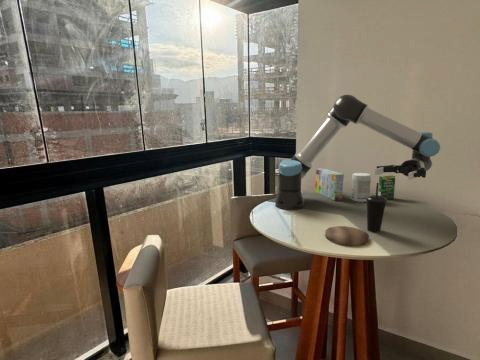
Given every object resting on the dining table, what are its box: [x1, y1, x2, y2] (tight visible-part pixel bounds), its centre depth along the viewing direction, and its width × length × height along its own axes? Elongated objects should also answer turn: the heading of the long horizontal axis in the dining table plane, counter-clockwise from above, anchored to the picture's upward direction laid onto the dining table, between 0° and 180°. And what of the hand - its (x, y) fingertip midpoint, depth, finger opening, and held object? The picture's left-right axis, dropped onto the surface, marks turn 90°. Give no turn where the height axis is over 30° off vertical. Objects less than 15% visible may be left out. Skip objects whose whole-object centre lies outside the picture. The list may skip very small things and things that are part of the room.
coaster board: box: [324, 225, 370, 247], centre depth 114 cm, size 16×16×2 cm
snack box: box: [314, 167, 345, 202], centre depth 172 cm, size 21×6×15 cm, turn 17°
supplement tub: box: [350, 172, 372, 203], centre depth 162 cm, size 10×10×15 cm
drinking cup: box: [366, 182, 388, 233], centre depth 119 cm, size 8×8×20 cm
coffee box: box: [378, 174, 396, 200], centre depth 164 cm, size 8×3×13 cm, turn 92°
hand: (391, 174), depth 122 cm, fingers open, 13 cm apart
